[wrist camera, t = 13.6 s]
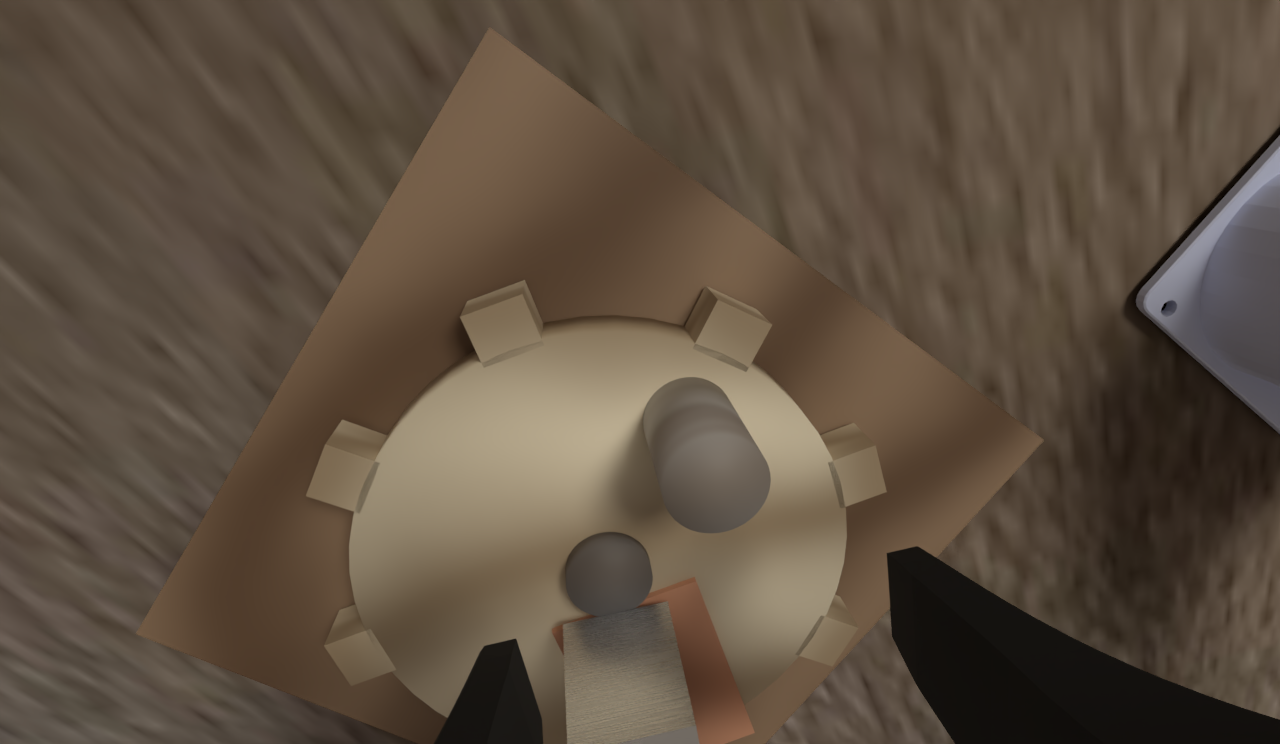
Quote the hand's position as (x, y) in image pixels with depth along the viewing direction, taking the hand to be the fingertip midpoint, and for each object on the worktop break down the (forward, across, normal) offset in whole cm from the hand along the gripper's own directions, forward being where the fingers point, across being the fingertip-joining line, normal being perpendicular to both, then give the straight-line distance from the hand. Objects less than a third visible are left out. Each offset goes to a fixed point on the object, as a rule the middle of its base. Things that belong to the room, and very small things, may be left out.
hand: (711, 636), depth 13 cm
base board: (+9, +2, +2) cm, 10 cm away
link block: (+6, +2, +6) cm, 9 cm away
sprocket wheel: (+8, +2, +2) cm, 8 cm away
